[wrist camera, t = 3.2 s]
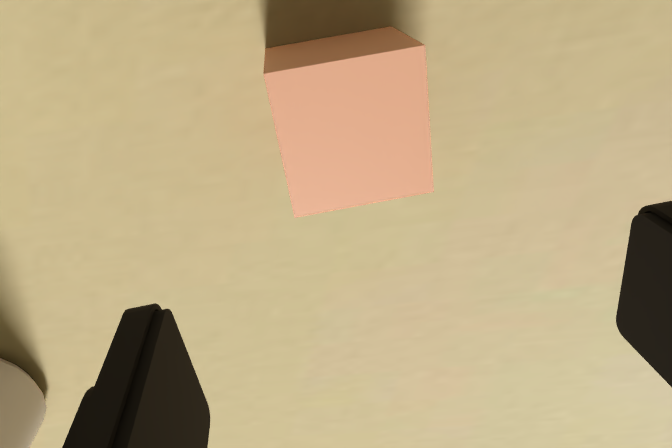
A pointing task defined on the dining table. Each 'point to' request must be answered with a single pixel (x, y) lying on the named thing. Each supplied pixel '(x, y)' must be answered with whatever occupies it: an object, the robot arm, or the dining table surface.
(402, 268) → the dining table surface
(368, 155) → the block
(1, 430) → the can
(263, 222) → the dining table surface
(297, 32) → the dining table surface
